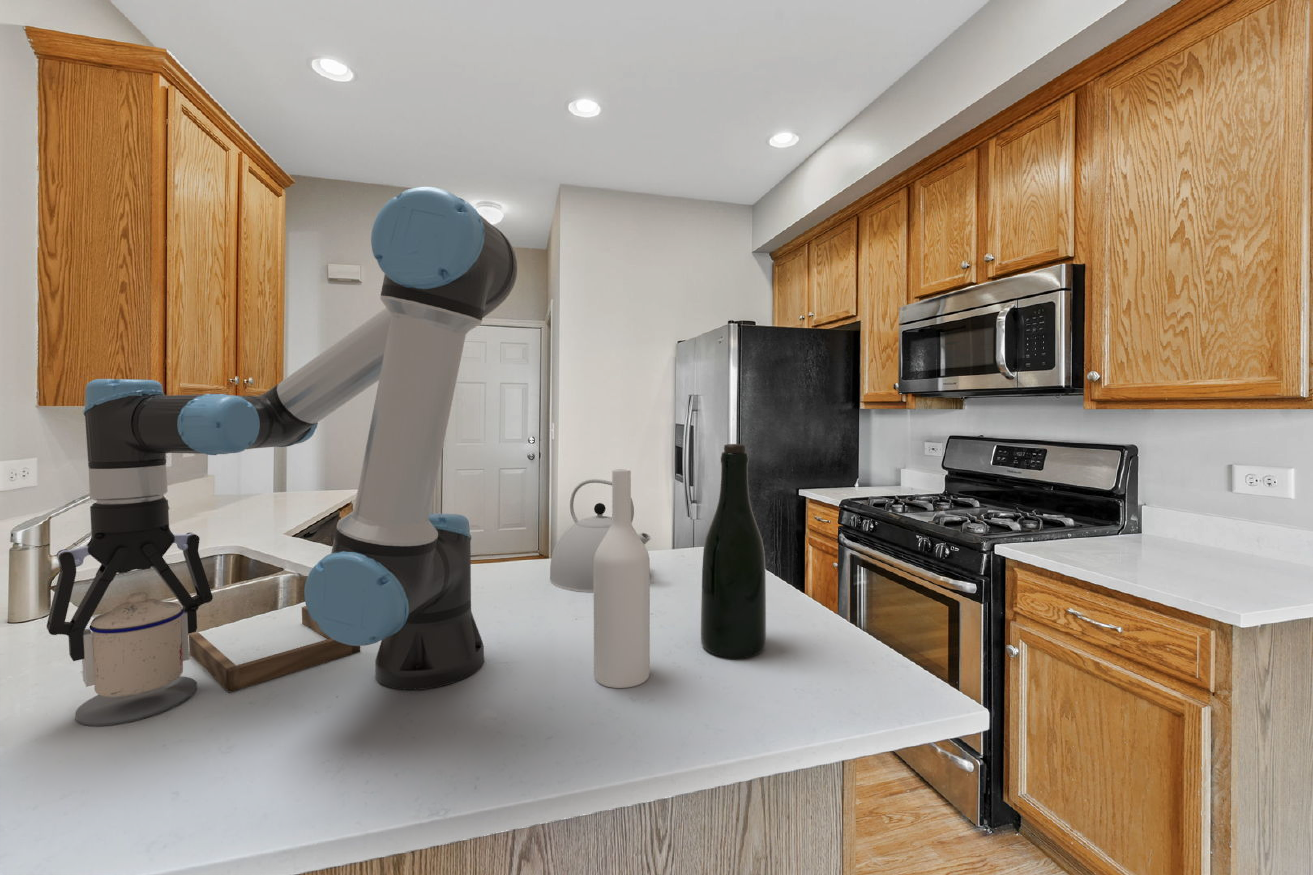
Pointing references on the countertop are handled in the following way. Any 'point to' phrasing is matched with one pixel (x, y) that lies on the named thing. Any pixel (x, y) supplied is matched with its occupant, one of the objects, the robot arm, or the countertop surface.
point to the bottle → (621, 596)
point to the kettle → (582, 547)
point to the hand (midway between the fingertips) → (138, 669)
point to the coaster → (135, 704)
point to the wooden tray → (266, 659)
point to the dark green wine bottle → (733, 568)
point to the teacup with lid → (137, 646)
